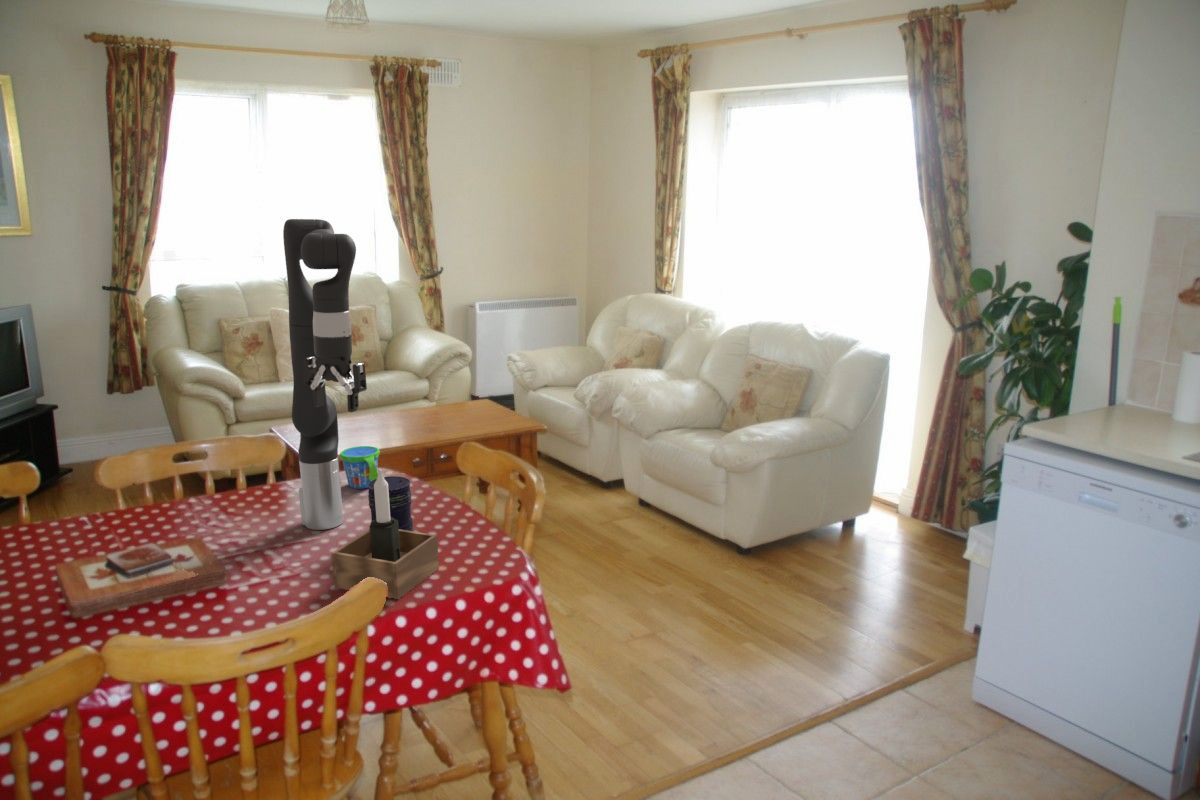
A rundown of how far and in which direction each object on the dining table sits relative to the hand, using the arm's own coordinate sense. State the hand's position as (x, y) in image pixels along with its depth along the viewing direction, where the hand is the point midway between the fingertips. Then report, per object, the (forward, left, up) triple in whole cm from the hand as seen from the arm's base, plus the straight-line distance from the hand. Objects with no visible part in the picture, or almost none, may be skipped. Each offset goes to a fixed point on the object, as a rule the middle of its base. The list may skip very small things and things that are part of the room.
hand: (336, 408), depth 188 cm
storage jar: (-1, +18, -38) cm, 42 cm away
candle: (+9, +1, -38) cm, 39 cm away
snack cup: (-32, +49, -38) cm, 70 cm away
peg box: (+9, +1, -38) cm, 39 cm away
